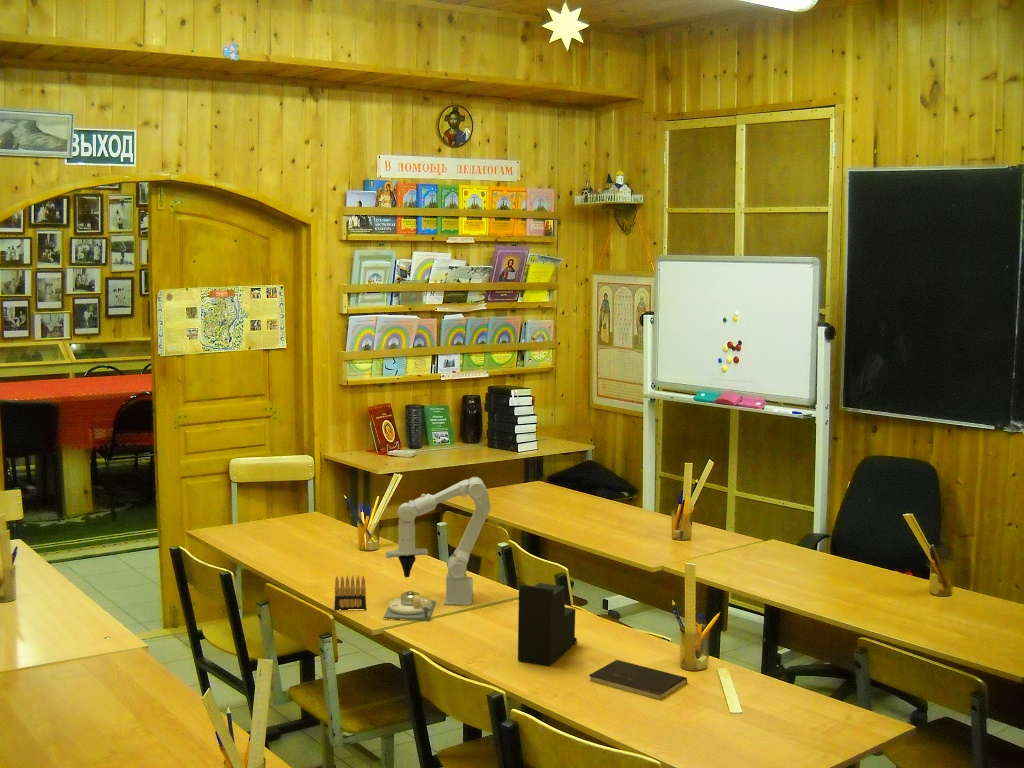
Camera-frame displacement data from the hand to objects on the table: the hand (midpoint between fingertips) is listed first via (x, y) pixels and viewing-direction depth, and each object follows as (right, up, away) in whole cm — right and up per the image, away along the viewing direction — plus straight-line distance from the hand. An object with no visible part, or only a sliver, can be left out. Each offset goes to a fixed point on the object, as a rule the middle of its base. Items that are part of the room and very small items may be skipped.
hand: (406, 576), depth 386 cm
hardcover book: (+72, -19, -68) cm, 101 cm away
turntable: (+2, -9, -8) cm, 12 cm away
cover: (+2, -8, -8) cm, 11 cm away
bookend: (+48, -16, -45) cm, 67 cm away
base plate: (+2, -10, -8) cm, 13 cm away
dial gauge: (+8, -11, -17) cm, 22 cm away
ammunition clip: (-19, -10, -7) cm, 22 cm away
